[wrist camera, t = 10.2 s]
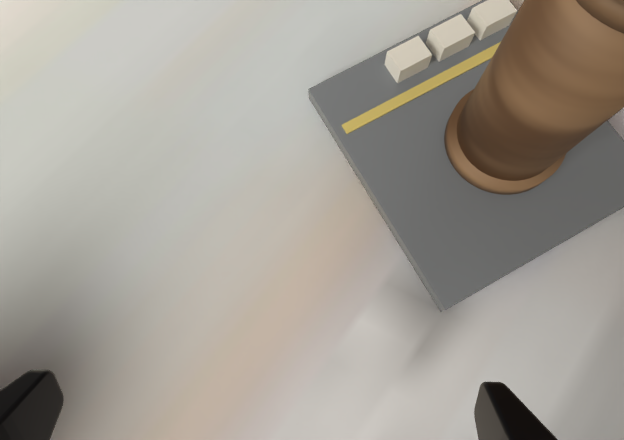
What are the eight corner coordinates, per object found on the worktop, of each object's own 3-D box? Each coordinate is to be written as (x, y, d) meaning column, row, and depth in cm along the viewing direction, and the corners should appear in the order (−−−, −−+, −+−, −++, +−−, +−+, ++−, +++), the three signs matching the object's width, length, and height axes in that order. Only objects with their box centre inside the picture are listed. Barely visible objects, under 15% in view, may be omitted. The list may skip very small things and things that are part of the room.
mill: (568, 191, 23) (826, 29, 11) (451, 198, 23) (580, 46, 11) (547, 88, 25) (752, -153, 13) (437, 95, 25) (537, -135, 13)
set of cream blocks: (509, 25, 26) (517, 10, 25) (397, 83, 25) (400, 71, 24) (495, 7, 26) (502, -8, 25) (384, 64, 26) (386, 51, 24)
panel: (647, 191, 24) (661, 185, 23) (440, 311, 23) (445, 309, 22) (495, 2, 27) (501, -11, 26) (309, 98, 26) (308, 88, 25)
